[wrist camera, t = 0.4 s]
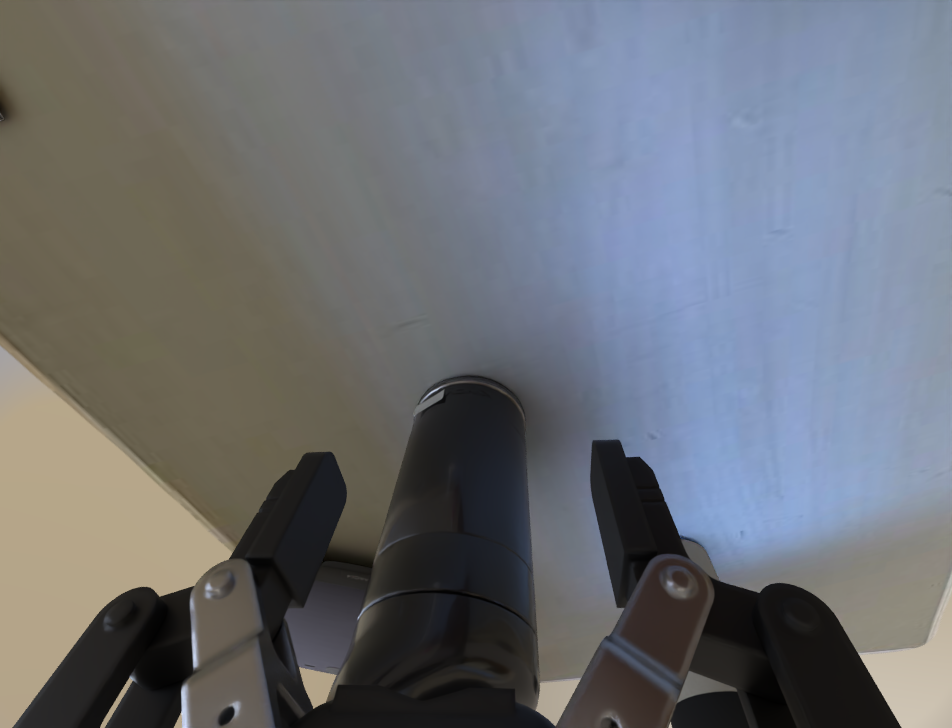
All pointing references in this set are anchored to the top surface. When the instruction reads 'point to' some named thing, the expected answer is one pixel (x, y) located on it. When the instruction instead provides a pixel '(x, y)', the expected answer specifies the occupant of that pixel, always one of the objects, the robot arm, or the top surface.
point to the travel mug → (707, 682)
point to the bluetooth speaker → (328, 616)
